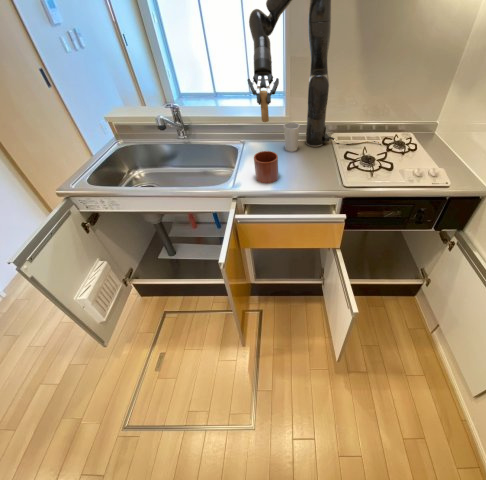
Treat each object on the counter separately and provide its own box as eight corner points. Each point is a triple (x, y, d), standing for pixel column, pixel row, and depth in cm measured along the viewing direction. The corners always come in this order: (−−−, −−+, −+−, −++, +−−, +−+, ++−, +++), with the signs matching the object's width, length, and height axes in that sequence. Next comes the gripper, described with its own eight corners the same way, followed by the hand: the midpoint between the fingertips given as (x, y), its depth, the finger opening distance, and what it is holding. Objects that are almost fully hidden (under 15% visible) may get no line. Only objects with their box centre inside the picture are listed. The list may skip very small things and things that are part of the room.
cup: (281, 150, 137) (280, 127, 129) (287, 143, 142) (287, 121, 134) (295, 153, 135) (295, 130, 126) (301, 146, 140) (302, 123, 131)
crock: (275, 169, 124) (275, 149, 117) (280, 181, 118) (280, 161, 110) (254, 172, 123) (252, 152, 116) (258, 184, 116) (255, 164, 109)
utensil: (268, 119, 121) (266, 90, 112) (269, 121, 119) (267, 92, 110) (261, 119, 121) (258, 90, 112) (262, 122, 118) (260, 93, 110)
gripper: (244, 57, 108) (246, 99, 109) (279, 56, 109) (280, 98, 109) (247, 68, 116) (248, 108, 116) (279, 68, 116) (280, 107, 117)
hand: (264, 103), depth 113 cm, fingers closed on utensil, 3 cm apart
